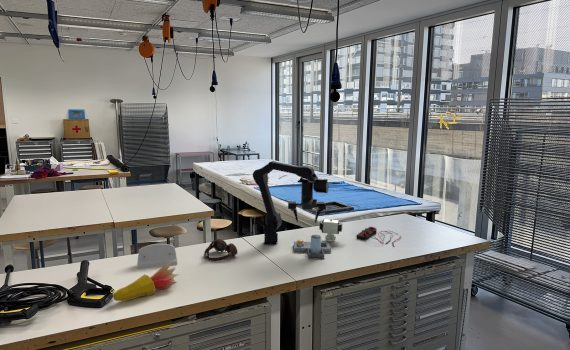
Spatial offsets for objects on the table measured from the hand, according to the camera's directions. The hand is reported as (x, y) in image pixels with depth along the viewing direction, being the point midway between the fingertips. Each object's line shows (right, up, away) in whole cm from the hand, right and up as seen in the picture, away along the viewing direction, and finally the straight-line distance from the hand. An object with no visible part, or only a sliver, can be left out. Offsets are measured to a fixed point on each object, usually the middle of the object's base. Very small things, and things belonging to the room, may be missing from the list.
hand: (306, 222), depth 191 cm
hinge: (-67, -16, -23) cm, 73 cm away
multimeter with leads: (+42, -12, +19) cm, 47 cm away
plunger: (-3, -13, -1) cm, 13 cm away
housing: (+3, -13, -1) cm, 14 cm away
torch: (-61, -20, -51) cm, 82 cm away
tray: (+4, -15, -10) cm, 18 cm away
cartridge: (+4, -14, -10) cm, 18 cm away
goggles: (-42, -15, -13) cm, 46 cm away
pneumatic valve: (+14, -12, +13) cm, 22 cm away
